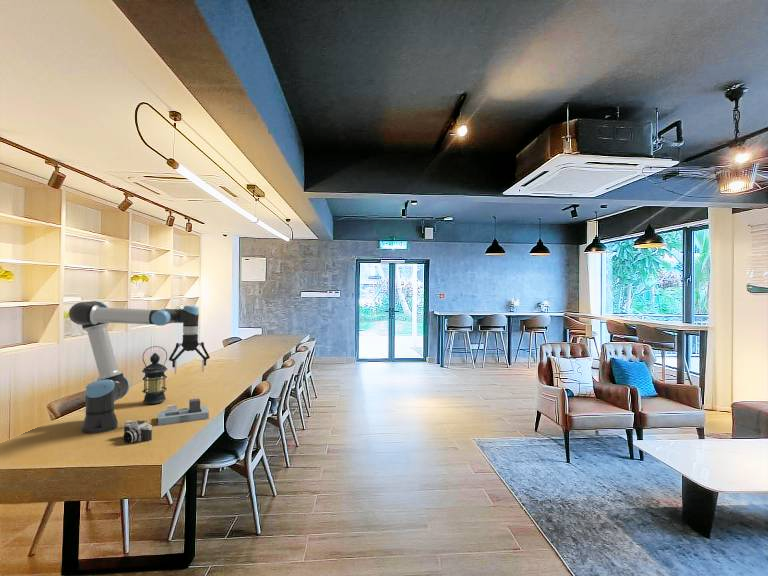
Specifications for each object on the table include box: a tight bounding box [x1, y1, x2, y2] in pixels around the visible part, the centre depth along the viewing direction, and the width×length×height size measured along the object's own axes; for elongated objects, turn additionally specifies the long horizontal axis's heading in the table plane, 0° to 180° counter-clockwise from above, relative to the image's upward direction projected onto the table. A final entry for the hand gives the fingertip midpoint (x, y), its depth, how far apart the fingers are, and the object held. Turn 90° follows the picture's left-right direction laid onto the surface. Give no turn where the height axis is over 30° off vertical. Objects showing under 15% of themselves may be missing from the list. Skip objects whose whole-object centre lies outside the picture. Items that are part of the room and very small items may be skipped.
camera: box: [122, 420, 153, 444], centre depth 188 cm, size 16×9×10 cm, turn 70°
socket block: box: [157, 404, 210, 426], centre depth 220 cm, size 24×14×7 cm, turn 119°
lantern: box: [141, 345, 168, 405], centre depth 250 cm, size 14×13×35 cm
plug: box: [188, 398, 201, 413], centre depth 222 cm, size 5×5×10 cm
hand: (189, 372), depth 222 cm, fingers open, 13 cm apart
